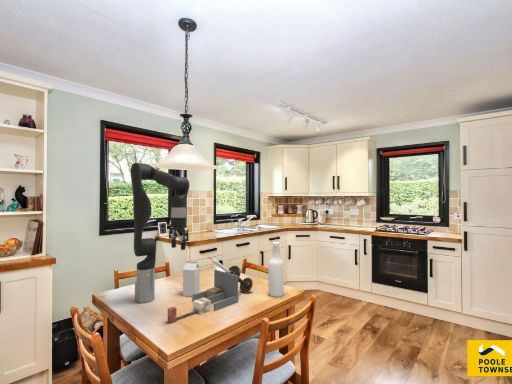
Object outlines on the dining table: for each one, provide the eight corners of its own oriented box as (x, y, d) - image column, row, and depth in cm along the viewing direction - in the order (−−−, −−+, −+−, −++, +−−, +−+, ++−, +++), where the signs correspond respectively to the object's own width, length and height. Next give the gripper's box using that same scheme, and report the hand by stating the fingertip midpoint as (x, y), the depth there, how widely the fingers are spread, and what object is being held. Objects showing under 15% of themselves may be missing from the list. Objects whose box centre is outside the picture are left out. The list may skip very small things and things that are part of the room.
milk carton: (194, 296, 156) (194, 262, 157) (182, 296, 158) (183, 262, 158) (199, 292, 163) (199, 260, 164) (188, 291, 165) (188, 259, 165)
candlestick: (238, 296, 164) (198, 268, 144) (239, 279, 172) (202, 251, 153) (253, 291, 160) (215, 262, 140) (254, 274, 168) (217, 244, 148)
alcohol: (275, 298, 155) (275, 244, 155) (265, 293, 162) (265, 242, 162) (286, 295, 160) (286, 242, 160) (276, 290, 167) (276, 240, 168)
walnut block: (213, 301, 150) (213, 292, 150) (206, 298, 154) (206, 289, 154) (221, 298, 155) (221, 289, 155) (214, 295, 159) (214, 287, 159)
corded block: (172, 324, 122) (172, 311, 122) (165, 320, 126) (165, 307, 126) (210, 310, 138) (210, 298, 138) (203, 307, 142) (203, 295, 142)
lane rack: (214, 311, 137) (215, 282, 137) (192, 301, 150) (192, 275, 150) (238, 302, 149) (238, 275, 149) (215, 293, 162) (215, 269, 162)
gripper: (164, 216, 142) (164, 247, 142) (179, 217, 133) (179, 251, 132) (177, 215, 148) (177, 246, 147) (193, 216, 138) (192, 249, 138)
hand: (178, 248), depth 140 cm, fingers open, 8 cm apart
